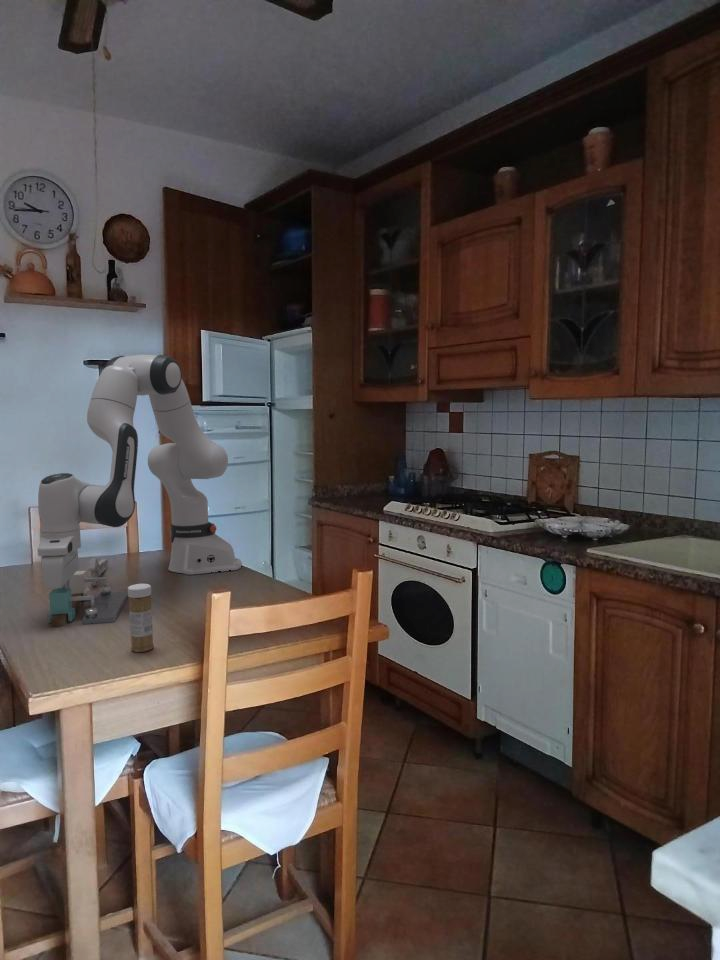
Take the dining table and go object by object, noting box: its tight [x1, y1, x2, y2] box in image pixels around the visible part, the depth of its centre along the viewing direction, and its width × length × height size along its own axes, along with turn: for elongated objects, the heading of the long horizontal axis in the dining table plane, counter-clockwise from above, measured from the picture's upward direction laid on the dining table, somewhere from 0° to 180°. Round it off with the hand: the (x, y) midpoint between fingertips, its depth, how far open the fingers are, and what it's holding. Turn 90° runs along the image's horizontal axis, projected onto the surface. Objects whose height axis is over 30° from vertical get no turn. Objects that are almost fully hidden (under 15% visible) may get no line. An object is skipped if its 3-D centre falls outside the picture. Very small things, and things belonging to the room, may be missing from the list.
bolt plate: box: [82, 586, 129, 625], centre depth 170 cm, size 7×24×3 cm, turn 11°
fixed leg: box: [69, 570, 108, 596], centre depth 179 cm, size 10×4×7 cm, turn 101°
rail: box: [50, 593, 84, 627], centre depth 168 cm, size 3×24×2 cm, turn 11°
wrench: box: [88, 558, 109, 587], centre depth 202 cm, size 8×2×30 cm
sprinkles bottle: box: [127, 583, 154, 653], centre depth 140 cm, size 5×5×13 cm
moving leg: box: [47, 588, 95, 624], centre depth 161 cm, size 10×4×7 cm, turn 101°
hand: (64, 597), depth 165 cm, fingers closed
